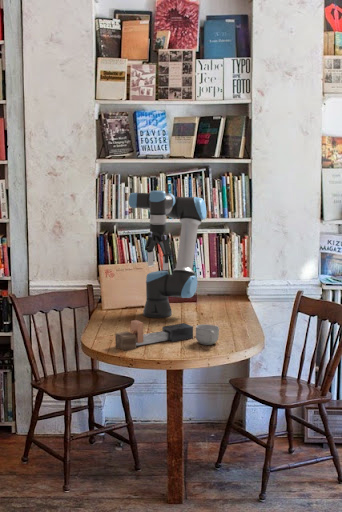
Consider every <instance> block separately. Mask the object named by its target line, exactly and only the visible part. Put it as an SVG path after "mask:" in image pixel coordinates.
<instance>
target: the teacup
mask: <svg viewBox="0 0 342 512" xmlns="http://www.w3.org/2000/svg"><path fill="white" fill-rule="evenodd" d="M219 334H220V327H219V326H218V325H214V324H204V323H203V324H202V323H201V324H198V325H196V326H195V340H196V341H197V342H198V343H199V344H200V345H204V346H210V345H211V346H213V345H214V344H216V342H218V341H219V336H220V335H219Z"/></svg>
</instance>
